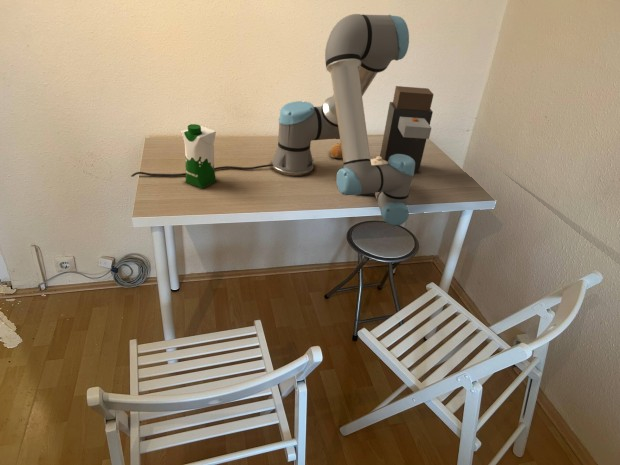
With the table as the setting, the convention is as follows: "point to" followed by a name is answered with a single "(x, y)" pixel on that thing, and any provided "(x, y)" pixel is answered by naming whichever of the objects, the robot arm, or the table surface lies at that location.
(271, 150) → the table surface
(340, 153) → the pastry
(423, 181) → the table surface
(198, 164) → the milk carton
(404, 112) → the coffee maker
